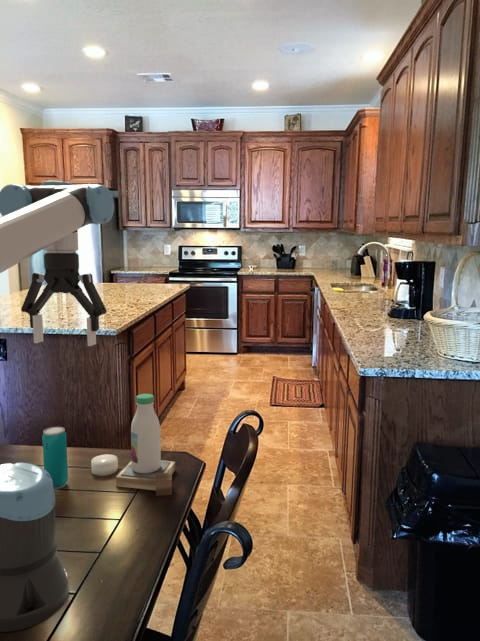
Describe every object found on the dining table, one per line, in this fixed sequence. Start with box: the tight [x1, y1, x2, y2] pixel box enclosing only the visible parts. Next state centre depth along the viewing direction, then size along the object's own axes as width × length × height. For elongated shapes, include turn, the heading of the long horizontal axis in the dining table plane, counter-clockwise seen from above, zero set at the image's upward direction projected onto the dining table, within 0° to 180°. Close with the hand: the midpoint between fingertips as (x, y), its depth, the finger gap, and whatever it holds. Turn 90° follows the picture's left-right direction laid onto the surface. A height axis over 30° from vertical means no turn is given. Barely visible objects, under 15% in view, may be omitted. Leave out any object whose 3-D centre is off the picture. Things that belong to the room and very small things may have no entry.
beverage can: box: [41, 426, 69, 491], centre depth 127 cm, size 6×6×15 cm
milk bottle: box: [130, 393, 162, 474], centre depth 131 cm, size 8×8×20 cm
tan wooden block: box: [155, 472, 173, 497], centre depth 126 cm, size 4×4×4 cm
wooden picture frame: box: [115, 460, 176, 491], centre depth 133 cm, size 12×12×3 cm
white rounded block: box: [90, 453, 119, 477], centre depth 137 cm, size 7×7×3 cm
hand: (65, 343), depth 116 cm, fingers open, 13 cm apart
